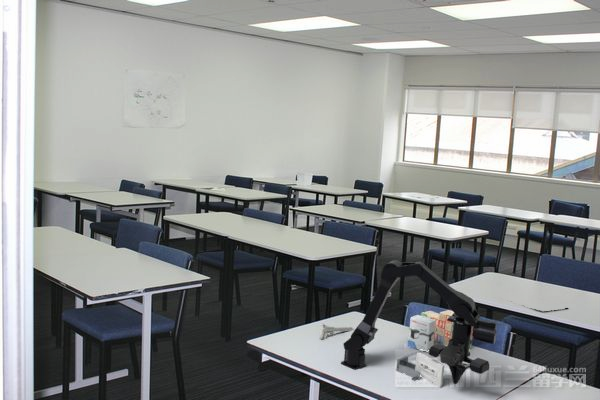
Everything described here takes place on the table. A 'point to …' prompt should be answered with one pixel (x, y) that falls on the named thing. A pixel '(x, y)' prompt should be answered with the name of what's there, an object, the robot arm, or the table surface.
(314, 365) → the table surface
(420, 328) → the ink box
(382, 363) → the table surface
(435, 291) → the robot arm
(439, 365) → the cassette
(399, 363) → the bracket
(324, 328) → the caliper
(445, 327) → the stack of blocks
